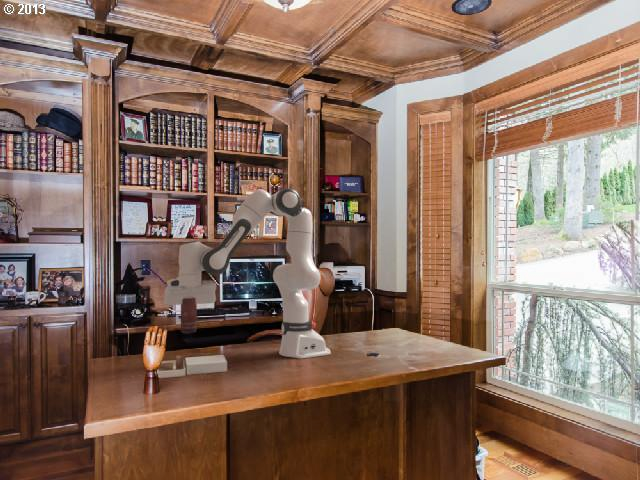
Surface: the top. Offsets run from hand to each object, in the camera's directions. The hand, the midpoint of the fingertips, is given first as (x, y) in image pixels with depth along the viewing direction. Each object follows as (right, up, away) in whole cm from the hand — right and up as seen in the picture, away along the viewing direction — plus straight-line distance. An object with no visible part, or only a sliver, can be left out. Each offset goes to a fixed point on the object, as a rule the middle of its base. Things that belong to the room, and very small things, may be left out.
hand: (189, 315), depth 179 cm
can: (0, -7, 0) cm, 7 cm away
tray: (-3, -19, -14) cm, 24 cm away
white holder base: (+9, -19, -10) cm, 23 cm away
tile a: (+1, -16, -13) cm, 20 cm away
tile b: (-5, -16, -15) cm, 22 cm away
